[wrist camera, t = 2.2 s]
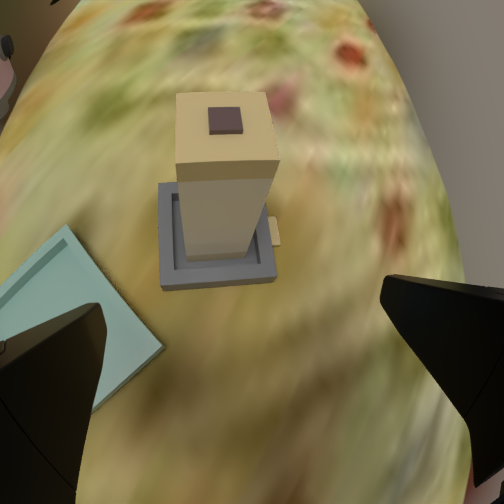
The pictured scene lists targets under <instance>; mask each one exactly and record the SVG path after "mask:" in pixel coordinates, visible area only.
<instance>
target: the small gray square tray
mask: <svg viewBox="0 0 504 504" xmlns="http://www.w3.org/2000/svg"><path fill="white" fill-rule="evenodd" d="M158 231H159V268H160V286H161V288H162V290H163V291H172V290H186V289H199V288H212V287H225V286H237V285H248V284H260V283H271V282H273V281H274V280H275V278H276V277H277V272H276V266H275V259H274V253H273V247H274V246H280V245H281V244H280V238H279V232H278V226H277V220H276V216H275V217H268V215H267V209H266V203H264V206H263V209H262V212H261V214H260V217H259V220H258V223H257V225H256V228H255V231H254V234H253V236H252V239H251V242H250V245H249V247H248V250H247V253H246V256H245V258H240V259H227V260H213V261H199V262H187V258H186V250H185V243H184V235H183V227H182V219H181V211H180V202H179V193H178V183H177V182H168V183H158Z"/></svg>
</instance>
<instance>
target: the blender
mask: <svg viewBox="0 0 504 504" xmlns="http://www.w3.org/2000/svg"><path fill="white" fill-rule="evenodd" d="M13 52H14V47H13V42H12V39H11V37H10V36H9V35H6V36H4V37H3V36H0V120H1V119H2V118H3V117H4V116H5V114H6V113H7V112H8V110H9V109H10V106H9V103H8V100H9V98H10V97H11V95H12V93H13V91H14V89H15V86H16V82H17V78H16V74H15V72H14V69H13V68H12V66H11V63H10V61H9V58H8V56H10V55H12V54H13Z"/></svg>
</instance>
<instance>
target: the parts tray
mask: <svg viewBox="0 0 504 504" xmlns="http://www.w3.org/2000/svg"><path fill="white" fill-rule="evenodd" d="M95 302H98V303H100V305H101V307H102V311H103V314H104V318H105V321H106V325H107V339H106V346H105V353H104V360H103V367H102V372H101V376H100V380H99V384H98V388H97V392H96V396H95V400H94V404H93V408H92V412H91V414H92V413H93V412H94V411H96V410H97V409H98V408H99V407H100V406H101V405H102V404H103V403H105V402H106V401H107V400H108V399H109V398H110V397H111V396H112V395H113V394H115V393H116V392H117V391H118V390H119V389H120V388H121V387H122V386H123V385H125V384H126V383H127V382H128V381H129V380H130V379H131V378H132V377H133V376H135V375H136V374H137V373H138V372H139V371H140V370H141V369H142V368H143V367H145V366H146V365H147V364H148V363H149V362H150V361H151V360H152V359H153V358H154V357H156V356H157V355H158V354H159V353H160V352H161V351H162V350H163V349H164V348H166V347H165V346H164V345H163V344H162V343H161V342H160V341H159V340H158V339H157V337H156V336H155V335H154V334H153V333H152V332H151V331H150V330H149V328H148V327H147V326H146V325H145V324H144V323H143V321H142V320H141V319H140V318H139V317H138V316H137V314H136V313H135V312H134V311H133V310H132V308H131V307H130V306H129V305H128V304H127V302H126V301H125V300H124V299H123V298H122V296H121V295H120V294H119V293H118V291H117V290H116V289H115V288H114V286H113V285H112V284H111V283H110V281H109V280H108V279H107V277H106V276H105V275H104V274H103V272H102V271H101V270H100V268H99V267H98V266H97V264H96V263H95V262H94V260H93V259H92V258H91V256H90V255H89V254H88V252H87V251H86V249H85V248H84V247H83V245H82V244H81V242H80V241H79V240H78V238H77V237H76V235H75V234H74V233H73V231H72V230H71V229H70V228H69V227H68V225H67V224H66V225H65V226H63V227H62V228H61V229H60V230H59V231H58V232H57V233H55V234H54V235H53V236H52V237H51V238H50V239H49V240H48V241H46V242H45V243H44V244H43V245H42V246H41V247H40V248H39V249H38V250H37V251H36V252H34V253H33V254H32V255H31V256H30V257H29V258H28V259H27V260H26V261H25V262H24V263H23V264H22V265H21V266H20V267H19V268H18V269H17V270H16V271H15V272H14V273H13V274H12V275H11V276H10V277H9V278H8V279H7V280H6V281H5V282H4V283H3V284H2V285H1V286H0V341H2V340H4V341H5V340H6V339H8V338H10V337H12V336H14V335H17V334H19V333H21V332H23V331H25V330H28V329H30V328H32V327H34V326H36V325H39V324H41V323H43V322H45V321H48V320H50V319H52V318H54V317H57V316H59V315H61V314H63V313H66V312H68V311H70V310H72V309H75V308H77V307H79V306H81V305H84V304H86V303H95Z"/></svg>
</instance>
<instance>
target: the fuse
mask: <svg viewBox="0 0 504 504" xmlns="http://www.w3.org/2000/svg"><path fill="white" fill-rule="evenodd" d="M279 162H280V156H279V151H278V147H277V142H276V137H275V133H274V129H273V124H272V120H271V115H270V111H269V107H268V102H267V98H266V94H265V92H190V93H177V94H176V173H177V183H178V193H179V202H180V211H181V219H182V227H183V235H184V243H185V250H186V258H187V262H199V261H213V260H227V259H240V258H245V256H246V253H247V250H248V247H249V245H250V242H251V239H252V236H253V234H254V231H255V228H256V225H257V223H258V220H259V217H260V214H261V212H262V209H263V206H264V203H265V201H266V198H267V195H268V193H269V190H270V187H271V184H272V182H273V179H274V176H275V173H276V171H277V168H278V165H279Z"/></svg>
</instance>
